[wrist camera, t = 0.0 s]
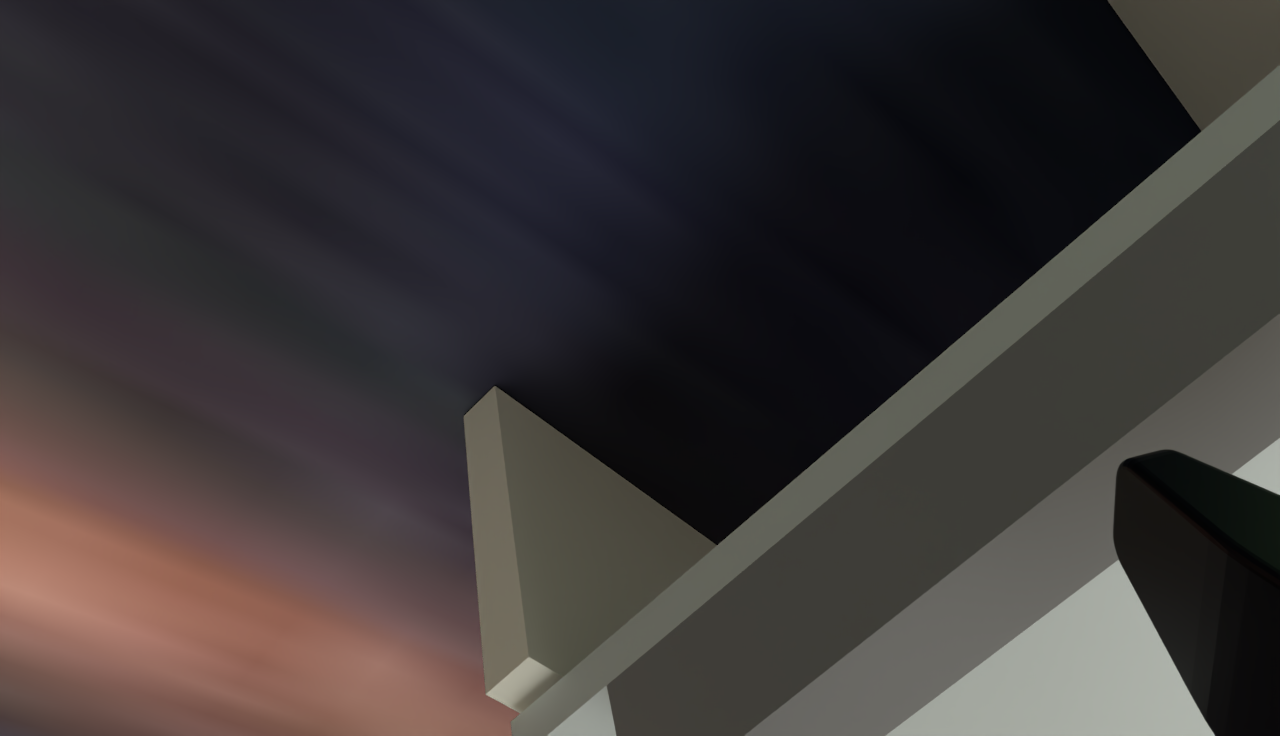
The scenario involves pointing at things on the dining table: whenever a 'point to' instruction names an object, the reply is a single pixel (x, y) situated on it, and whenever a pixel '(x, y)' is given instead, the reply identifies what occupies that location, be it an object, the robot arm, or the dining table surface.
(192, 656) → the dining table surface
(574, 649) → the housing
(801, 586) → the lid
